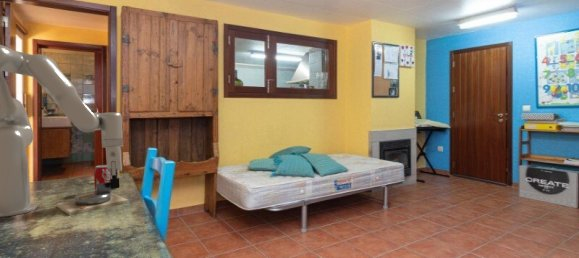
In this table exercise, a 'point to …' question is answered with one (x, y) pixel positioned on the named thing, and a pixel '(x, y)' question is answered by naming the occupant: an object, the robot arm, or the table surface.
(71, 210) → the stand
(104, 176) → the soda can
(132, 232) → the table surface
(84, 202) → the disc
